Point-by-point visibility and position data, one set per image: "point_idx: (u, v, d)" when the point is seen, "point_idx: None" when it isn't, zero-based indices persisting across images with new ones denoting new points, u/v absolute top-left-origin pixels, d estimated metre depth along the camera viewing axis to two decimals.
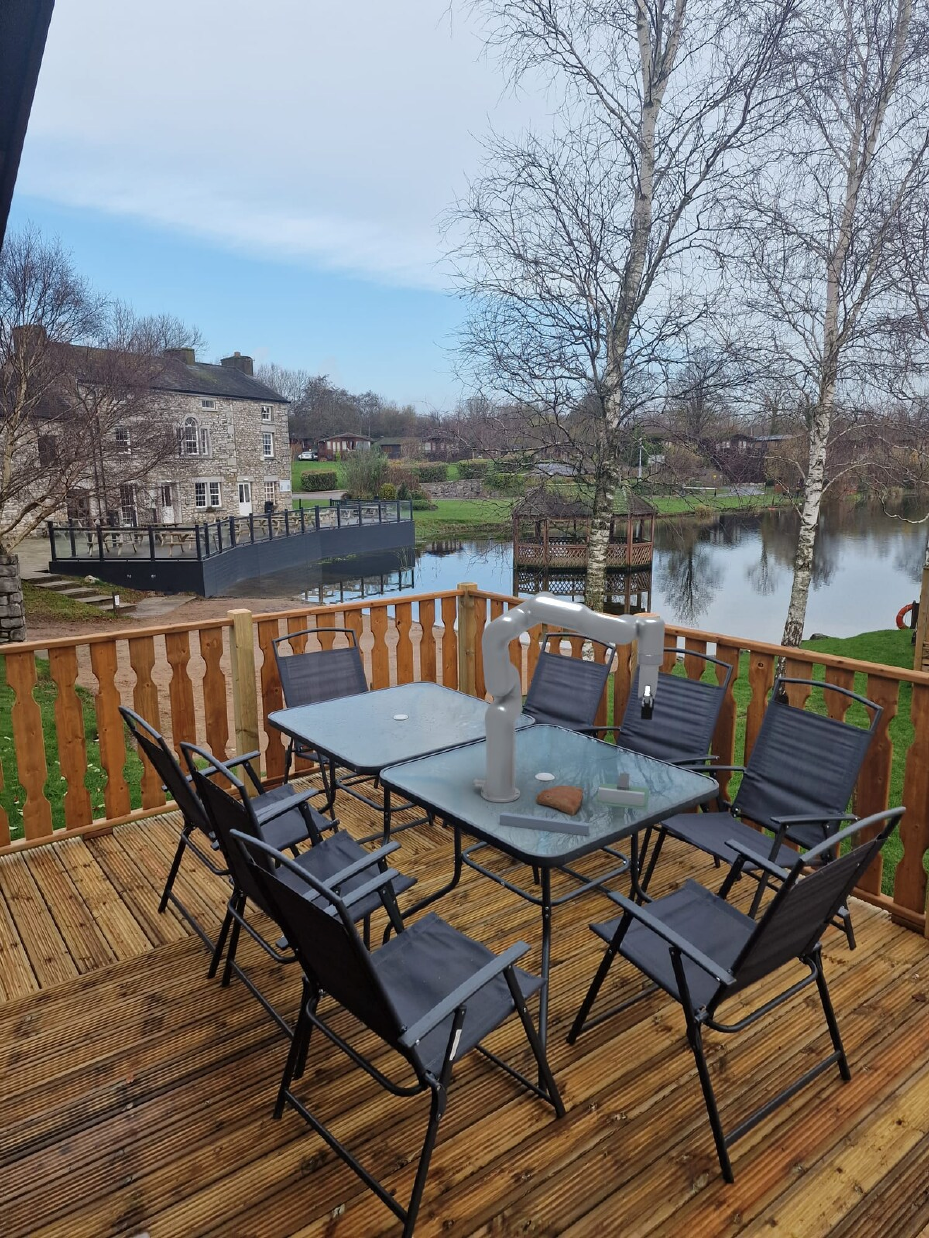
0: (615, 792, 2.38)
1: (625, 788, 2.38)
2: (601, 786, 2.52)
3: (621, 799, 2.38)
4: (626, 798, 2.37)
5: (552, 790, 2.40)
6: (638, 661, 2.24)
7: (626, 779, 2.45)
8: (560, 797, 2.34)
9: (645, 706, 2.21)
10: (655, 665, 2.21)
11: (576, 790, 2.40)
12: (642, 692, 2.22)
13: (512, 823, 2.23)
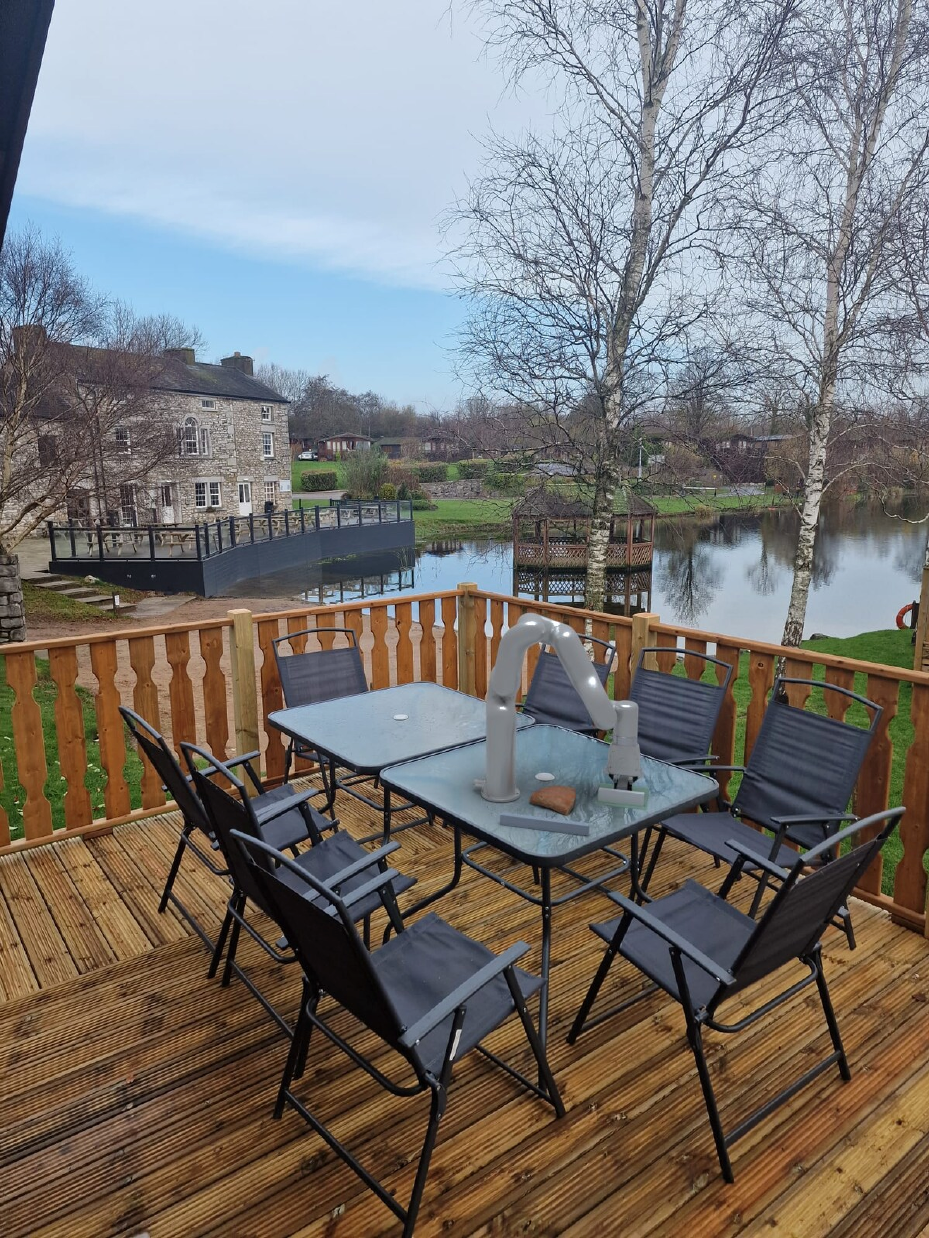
0: (615, 792, 2.38)
1: (625, 788, 2.38)
2: (601, 786, 2.52)
3: (621, 799, 2.38)
4: (626, 798, 2.37)
5: (545, 790, 2.39)
6: (630, 745, 2.38)
7: (626, 779, 2.45)
8: (554, 797, 2.34)
9: None
10: None
11: (569, 790, 2.40)
12: None
13: (512, 823, 2.23)
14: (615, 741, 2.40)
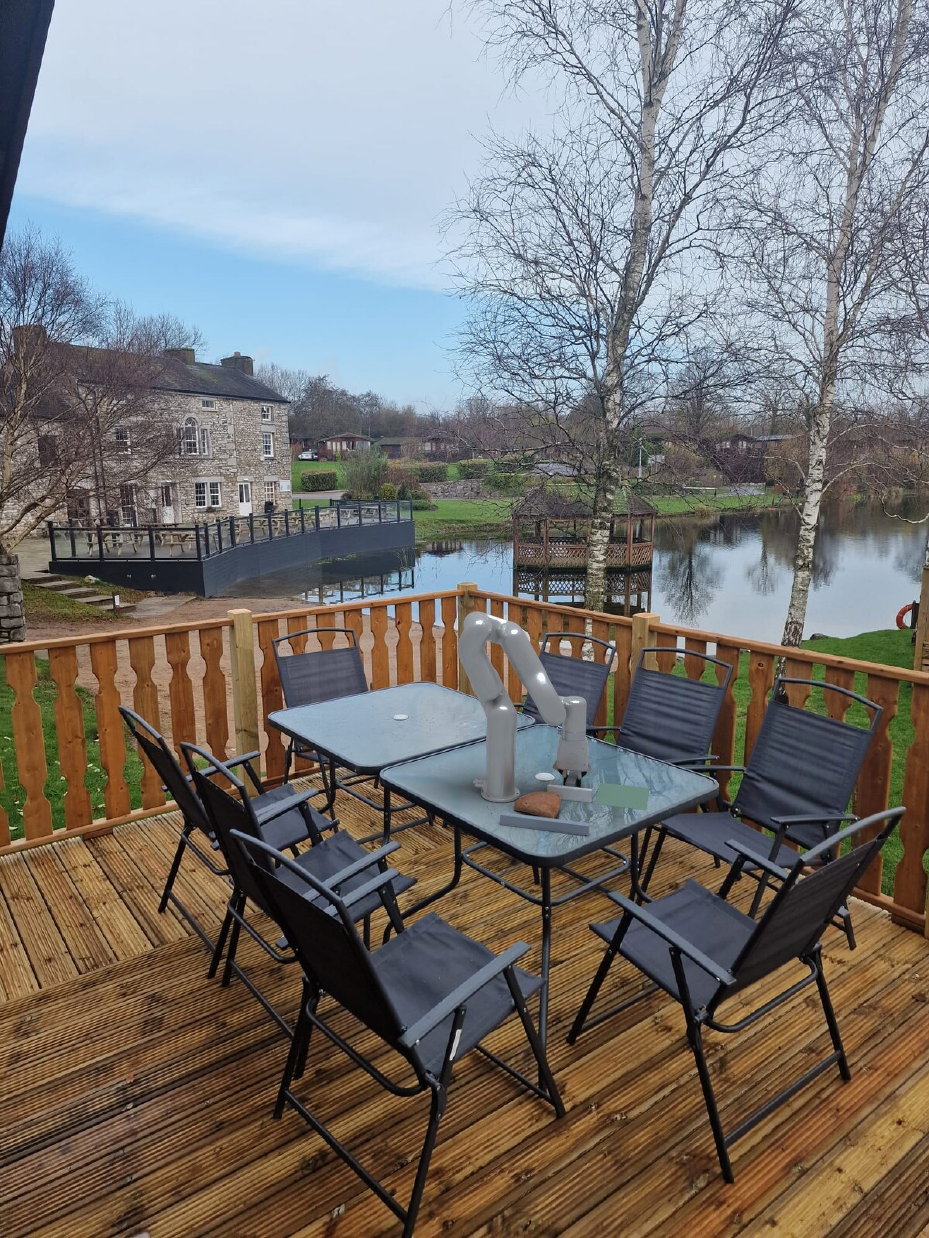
0: (563, 789, 2.40)
1: (573, 785, 2.41)
2: (601, 786, 2.52)
3: (569, 796, 2.40)
4: (574, 795, 2.40)
5: (530, 796, 2.35)
6: (578, 740, 2.40)
7: (575, 775, 2.47)
8: (539, 803, 2.29)
9: None
10: None
11: (554, 795, 2.35)
12: None
13: (512, 823, 2.23)
14: (564, 736, 2.42)
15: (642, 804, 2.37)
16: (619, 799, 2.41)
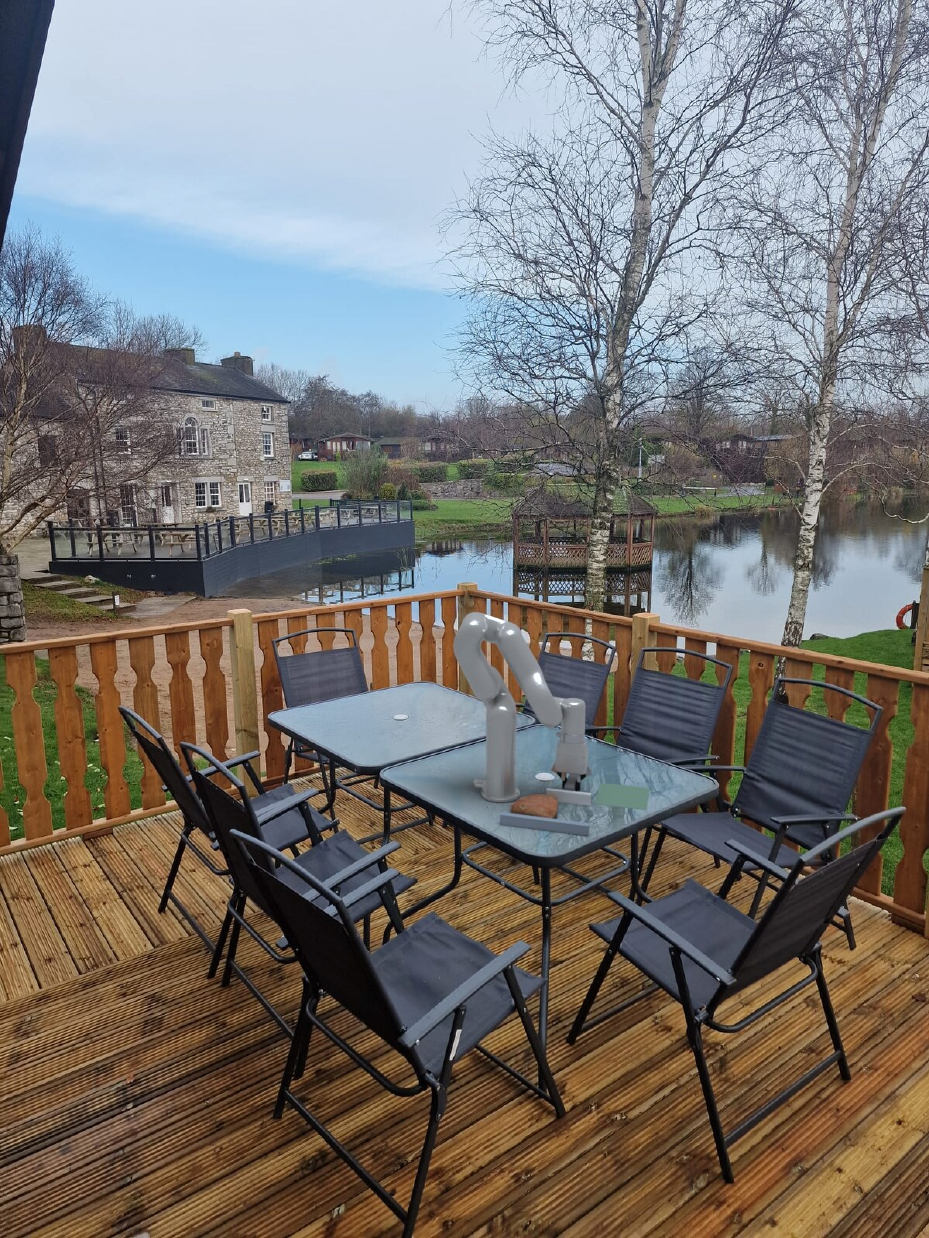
0: (562, 793, 2.38)
1: (572, 789, 2.38)
2: (601, 786, 2.52)
3: (568, 800, 2.38)
4: (573, 799, 2.37)
5: (526, 799, 2.33)
6: (577, 742, 2.37)
7: (575, 779, 2.45)
8: (536, 806, 2.27)
9: None
10: None
11: (551, 798, 2.33)
12: None
13: (512, 823, 2.23)
14: (562, 739, 2.39)
15: (642, 804, 2.37)
16: (619, 799, 2.41)
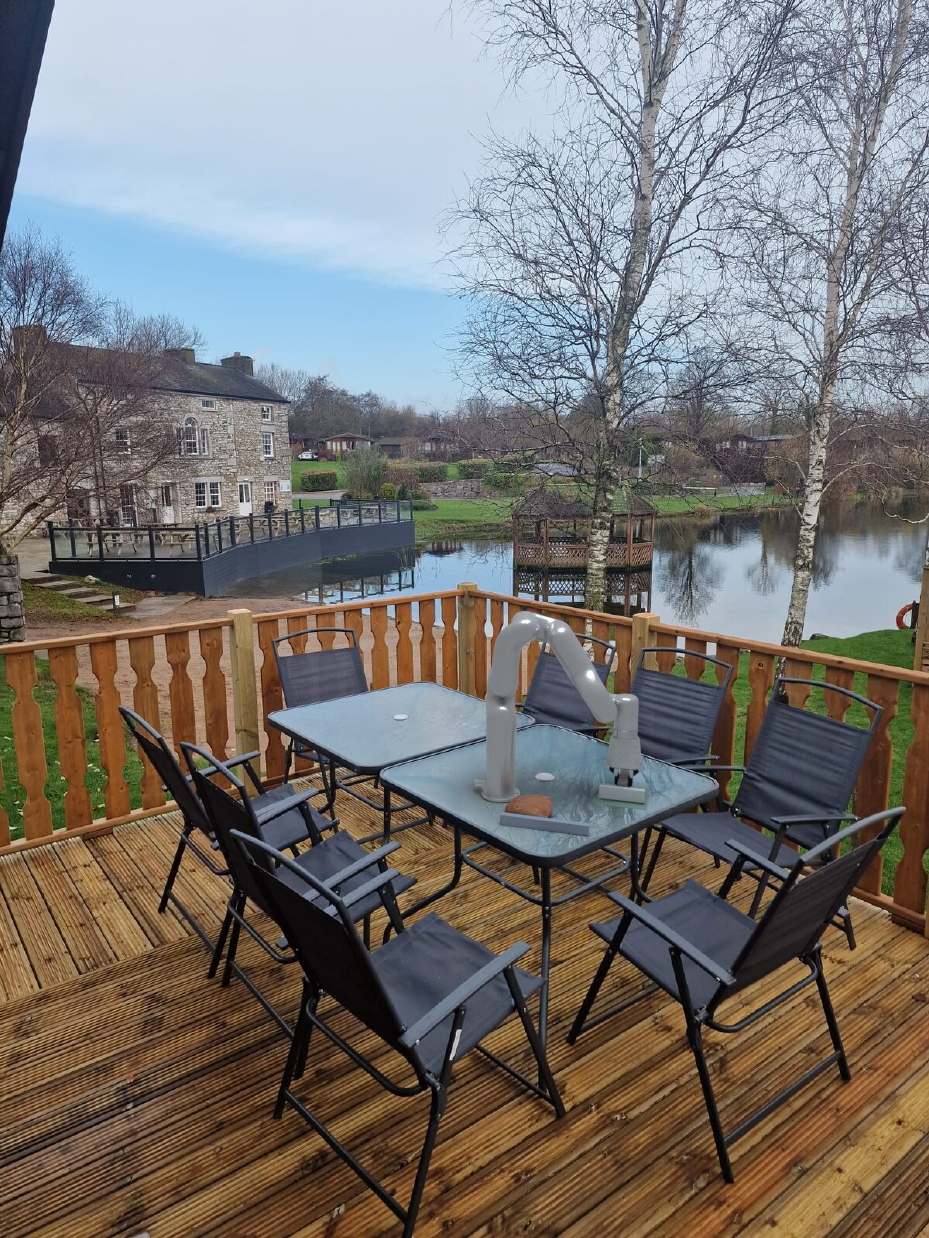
0: (616, 789, 2.39)
1: (626, 785, 2.39)
2: None
3: (622, 796, 2.39)
4: (627, 795, 2.38)
5: (521, 800, 2.32)
6: (630, 738, 2.38)
7: (627, 775, 2.45)
8: (530, 807, 2.27)
9: None
10: None
11: (545, 799, 2.33)
12: None
13: (512, 823, 2.23)
14: (615, 734, 2.40)
15: (642, 804, 2.37)
16: None
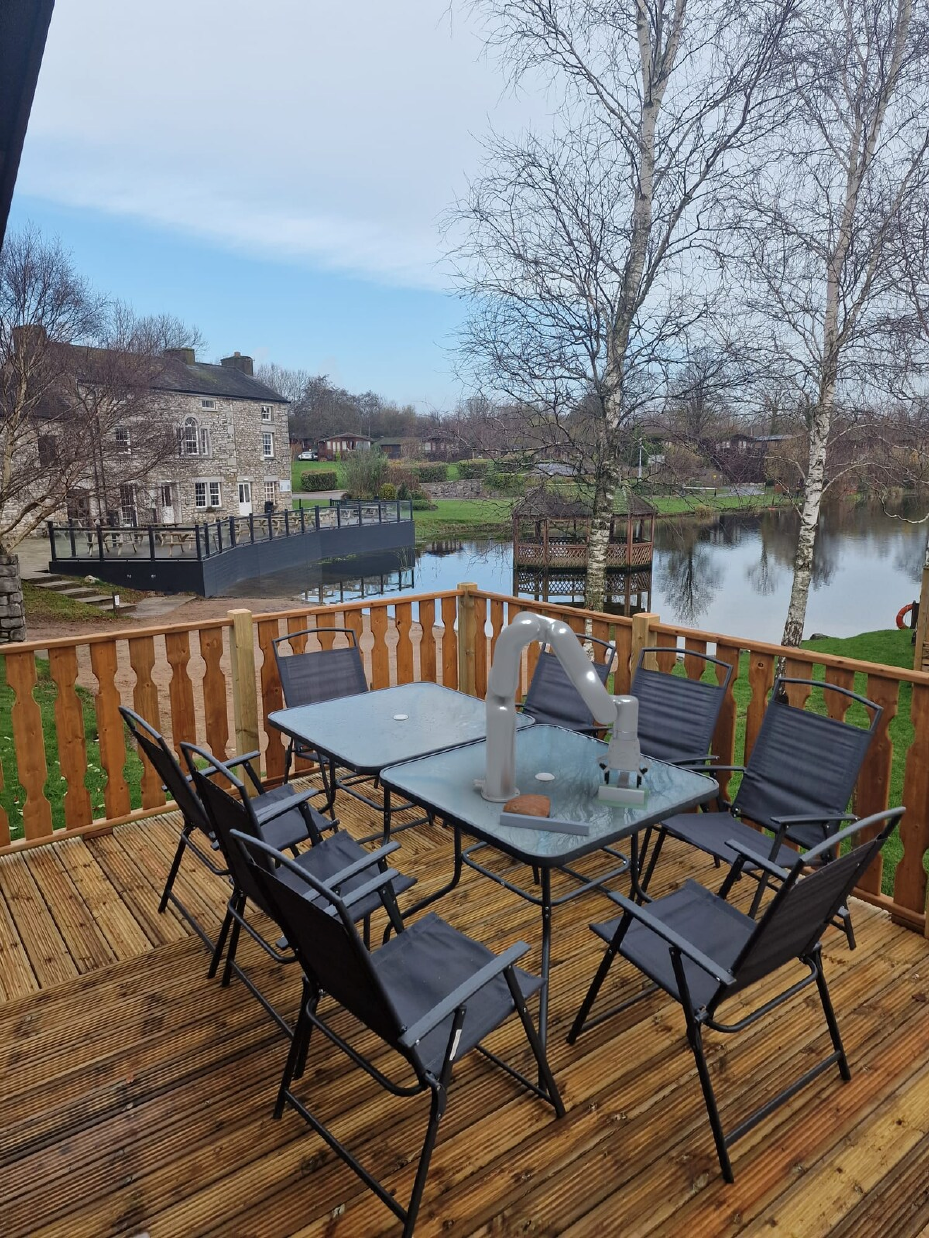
0: (615, 790, 2.39)
1: (625, 786, 2.39)
2: None
3: (621, 797, 2.39)
4: (626, 796, 2.38)
5: (519, 800, 2.32)
6: (630, 739, 2.38)
7: (626, 777, 2.46)
8: (529, 807, 2.27)
9: None
10: None
11: (543, 798, 2.33)
12: (639, 764, 2.40)
13: (512, 823, 2.23)
14: (615, 736, 2.40)
15: None
16: None
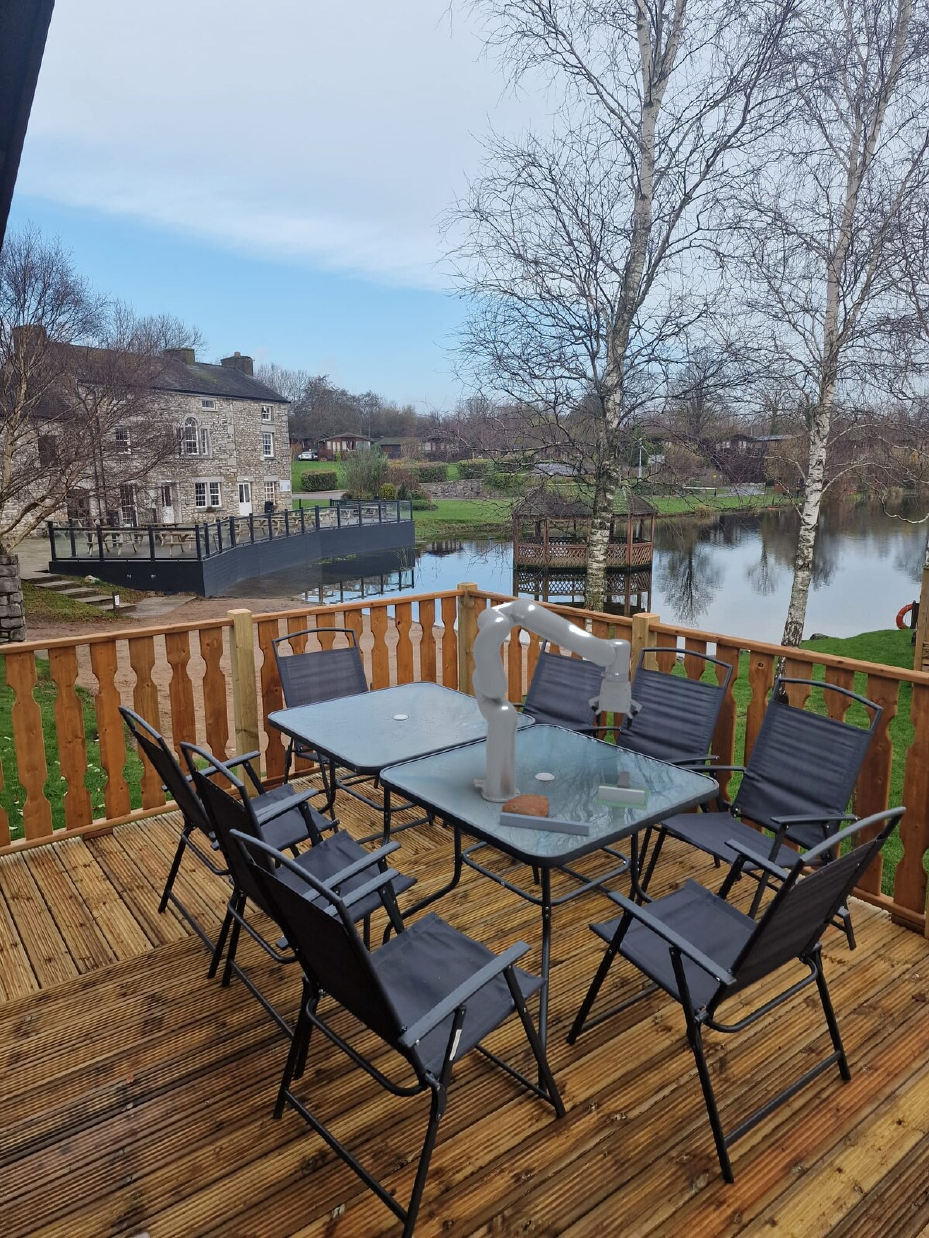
0: (615, 790, 2.39)
1: (625, 786, 2.39)
2: None
3: (621, 797, 2.39)
4: (626, 796, 2.38)
5: (517, 800, 2.32)
6: (621, 681, 2.44)
7: (626, 777, 2.46)
8: (527, 807, 2.27)
9: None
10: None
11: (542, 798, 2.33)
12: (630, 706, 2.47)
13: (512, 823, 2.23)
14: (607, 678, 2.46)
15: None
16: None
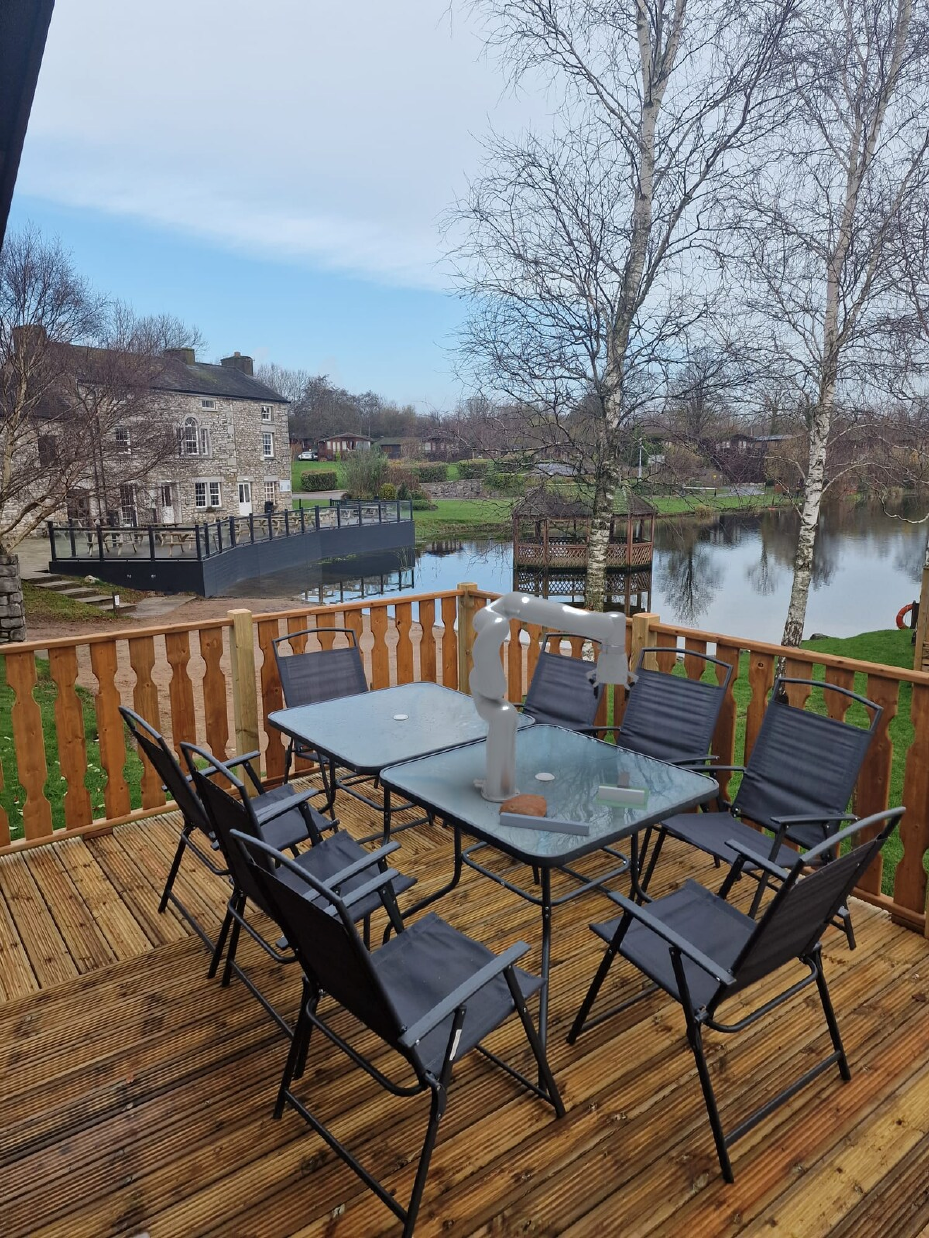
0: (615, 790, 2.39)
1: (625, 786, 2.39)
2: None
3: (621, 797, 2.39)
4: (626, 796, 2.38)
5: (515, 800, 2.32)
6: (617, 653, 2.48)
7: (626, 777, 2.46)
8: (525, 806, 2.27)
9: None
10: None
11: (539, 798, 2.33)
12: (627, 677, 2.50)
13: (512, 823, 2.23)
14: (603, 650, 2.50)
15: None
16: None
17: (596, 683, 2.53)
